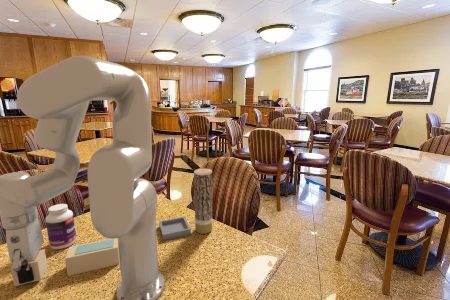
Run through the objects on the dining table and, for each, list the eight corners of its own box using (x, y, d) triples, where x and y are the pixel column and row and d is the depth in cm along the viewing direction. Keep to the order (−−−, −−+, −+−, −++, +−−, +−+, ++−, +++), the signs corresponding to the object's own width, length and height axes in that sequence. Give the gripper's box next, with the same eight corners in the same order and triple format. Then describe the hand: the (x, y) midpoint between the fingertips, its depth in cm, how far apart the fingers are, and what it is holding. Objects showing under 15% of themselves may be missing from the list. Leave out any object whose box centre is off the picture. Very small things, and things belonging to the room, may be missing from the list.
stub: (40, 279, 66) (37, 261, 65) (14, 286, 64) (10, 266, 62) (47, 266, 71) (44, 248, 70) (23, 271, 69) (19, 253, 68)
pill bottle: (73, 248, 81) (67, 210, 78) (46, 252, 79) (39, 214, 76) (79, 235, 89) (74, 200, 86) (55, 239, 86) (49, 203, 83)
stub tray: (190, 234, 90) (190, 229, 90) (163, 240, 86) (162, 234, 86) (184, 221, 100) (184, 216, 99) (159, 226, 96) (159, 221, 95)
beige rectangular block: (119, 264, 74) (117, 246, 72) (67, 276, 68) (64, 258, 67) (119, 252, 79) (118, 236, 78) (71, 263, 74) (68, 246, 73)
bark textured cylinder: (214, 232, 92) (214, 172, 86) (197, 236, 89) (196, 174, 84) (209, 224, 98) (208, 167, 93) (193, 227, 95) (192, 169, 90)
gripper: (24, 230, 57) (36, 292, 61) (46, 202, 73) (55, 252, 77) (-16, 237, 54) (0, 301, 58) (16, 206, 70) (27, 258, 74)
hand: (31, 273), depth 67 cm, fingers closed on stub, 6 cm apart
